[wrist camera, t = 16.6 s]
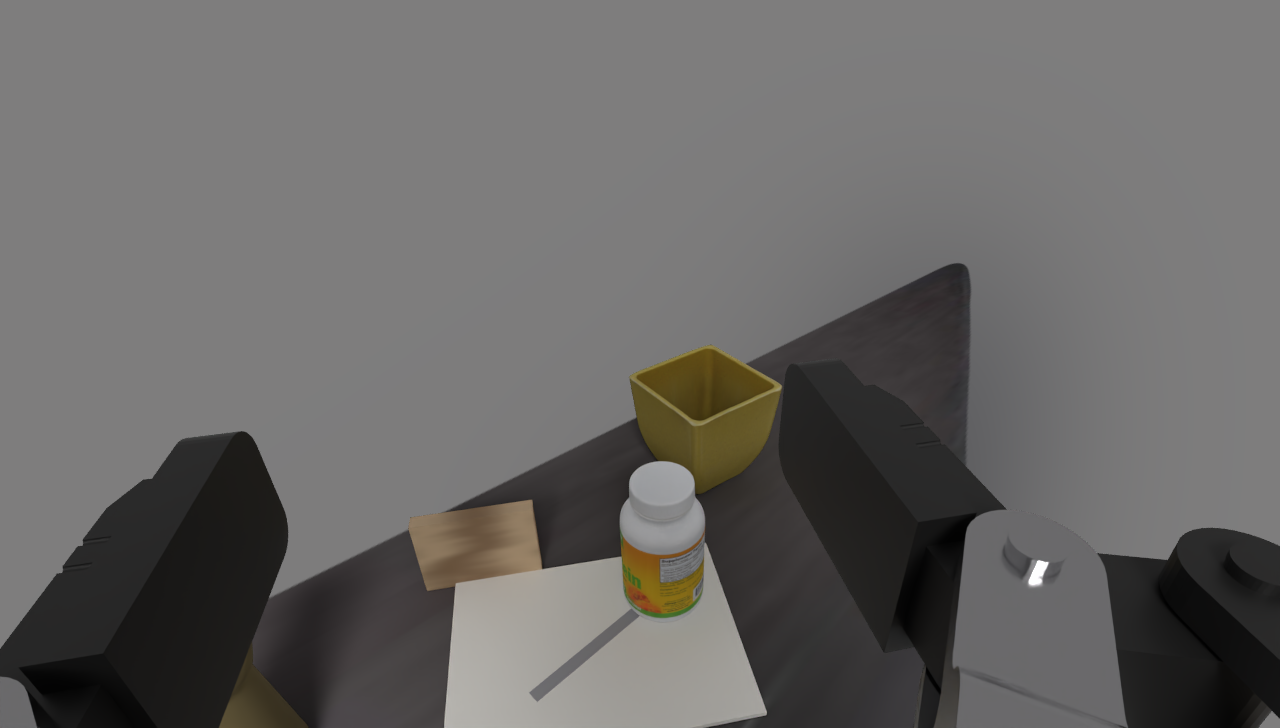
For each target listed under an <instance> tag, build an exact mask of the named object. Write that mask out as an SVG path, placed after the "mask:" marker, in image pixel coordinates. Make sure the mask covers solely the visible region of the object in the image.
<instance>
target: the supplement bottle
mask: <svg viewBox="0 0 1280 728" xmlns="http://www.w3.org/2000/svg"><path fill="white" fill-rule="evenodd" d="M620 538H621V554H622V572H623V589H624V595H625V598H626V601H627V603H628V605H629V606H630V607H631V609H632V610H633V611H634V612H636V613H637V614H638V615H640V616H641V617H643V618H645V619H648V620H651V621H655V622H672V621H676V620H679V619H681V618H684V617H685V616H687V615H689V614H690V613H691V612H692V611H693V610H694V609H695V608H696V607H697V605H698V604H699V602H700V600H701V597H702V593H703V581H704V544H705V515H704V511H703V508H702V506H701V504H700V503H699V501H698V500H697V499H696V498H695V482H694V478H693V476H692V474H691V473H690V472H689V471H688V470H687V469H686V468H685V467H683V466H681V465H679V464H676V463H673V462H667V461H658V462H652V463H648V464H645V465H643V466H641V467H639V468H638V469H637V470H636V471H635V472H634V473H633V474H632V476H631V478H630V481H629V498H628V499H627V501H626V502H625V503H624V505H623V507H622V509H621V513H620Z"/></svg>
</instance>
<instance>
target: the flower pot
mask: <svg viewBox="0 0 1280 728" xmlns="http://www.w3.org/2000/svg"><path fill="white" fill-rule="evenodd" d="M629 378H630V383H631V389H632V394H633V399H634V405H635V410H636V415H637V421H638V425H639V428H640V431H641V434H642V436H643V438H644V440H645V442H646V444H647V446H648V447H649V449H650V450H651V452H652V453H653V455H654V456H655V457H656V459H657V460H658V461H667V462H673V463H676V464H679V465H681V466H683V467H685V468H686V469H687V470H688V471H689V472H690V473H691V474H692V476H693V478H694V482H695V494H702V493H704V492H706V491H708V490H710V489H711V488H713V487H715V486H717V485H719V484H721V483H722V482H725V481H726V480H728V479H730V478H732V477H734V476H736V475H738V474H740V473H742V472H743V471H744V470H745V469H746V468H747V467H748V466H749V465H750V464H751V463H752V462H753V461H754V459H755V458H756V457H757V456H758V454H759V453H760V452H761V450H762V449H763V447H764V445H765V443H766V441H767V439H768V436H769V434H770V431H771V427H772V424H773V420H774V416H775V412H776V409H777V405H778V401H779V397H780V393H781V390H782V386H781V385H780V384H779V383H777V382H776V381H774V380H772V379H771V378H769V377H767V376H765V375H763V374H762V373H760V372H758V371H756V370H754V369H753V368H751V367H749V366H748V365H746V364H744V363H742V362H741V361H739V360H737V359H736V358H734V357H732V356H730V355H729V354H727V353H725V352H724V351H722V350H720V349H719V348H717V347H714V346H713V345H707V346H704V347H701V348H698V349H695V350H692V351H690V352H687V353H684V354H682V355H679V356H677V357H674V358H671V359H669V360H666V361H664V362H661V363H659V364H656V365H654V366H651V367H649V368H645V369H643V370H641V371H638V372H636V373H634V374H632V375H630V376H629Z"/></svg>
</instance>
